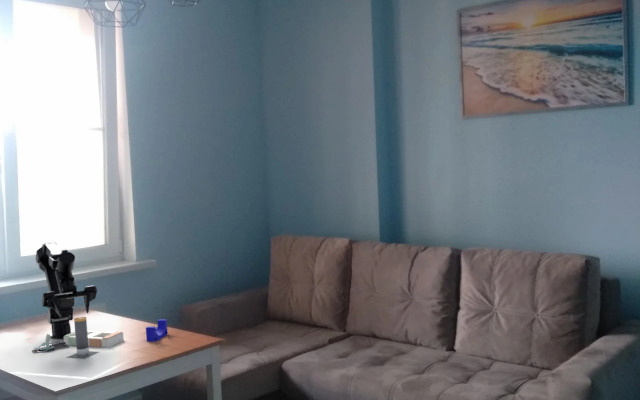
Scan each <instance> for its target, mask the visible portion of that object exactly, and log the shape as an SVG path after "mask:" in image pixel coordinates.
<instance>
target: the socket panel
mask: <svg viewBox="0 0 640 400" xmlns="http://www.w3.org/2000/svg"><path fill="white" fill-rule="evenodd" d="M87 334H88V347H95V348H97V347H98V348H101V347H102V348H109V347H110V348H111V346H114V345H116V344H119V343H121V342H123V341H124V338H125V337H124V332H123V331H101V330H87ZM64 342H65V343H66V344H67V345H68V346H76V336H75V331H73V332H71V333H70V334H67V335H65V336H64V338H63V343H64ZM66 344H65V345H66ZM67 345H66V346H67Z"/></svg>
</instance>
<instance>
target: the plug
mask: <svg viewBox="0 0 640 400" xmlns="http://www.w3.org/2000/svg"><path fill="white" fill-rule="evenodd" d="M73 322H74V332H75V336H76V345H75V348H76V353H77V356H86V355H89V351H90V350H89V349H90V346H88V334H87V331H88V324H87V323H88V322H87V316H79V317H75V318H73Z"/></svg>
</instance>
